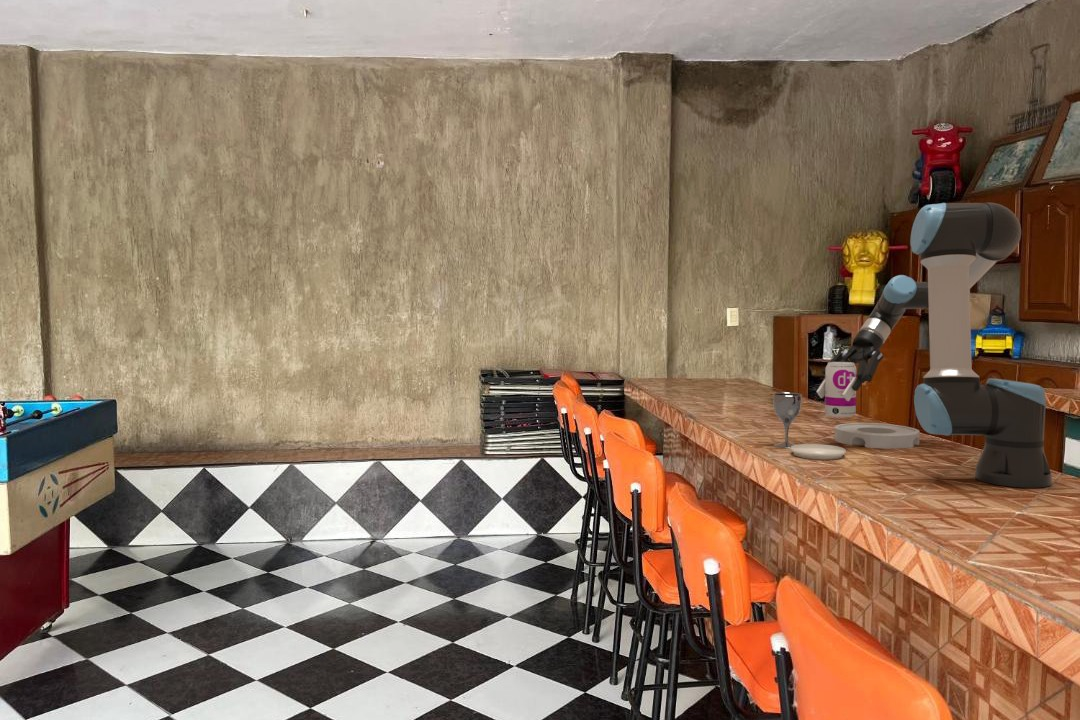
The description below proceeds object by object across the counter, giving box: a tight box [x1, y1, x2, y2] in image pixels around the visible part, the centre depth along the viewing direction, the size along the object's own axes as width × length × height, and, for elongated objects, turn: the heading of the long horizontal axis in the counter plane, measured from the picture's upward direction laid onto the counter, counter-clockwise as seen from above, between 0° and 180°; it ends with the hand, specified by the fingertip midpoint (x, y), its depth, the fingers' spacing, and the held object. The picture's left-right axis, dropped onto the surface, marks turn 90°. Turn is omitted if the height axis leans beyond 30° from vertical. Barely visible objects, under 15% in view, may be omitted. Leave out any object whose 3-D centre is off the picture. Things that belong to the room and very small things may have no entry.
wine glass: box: [772, 391, 803, 449], centre depth 227 cm, size 8×8×15 cm
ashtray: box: [834, 422, 921, 450], centre depth 234 cm, size 23×23×4 cm
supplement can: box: [824, 361, 857, 418], centre depth 223 cm, size 8×8×15 cm
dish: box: [790, 443, 846, 461], centre depth 214 cm, size 14×14×2 cm
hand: (832, 396), depth 222 cm, fingers closed on supplement can, 8 cm apart
